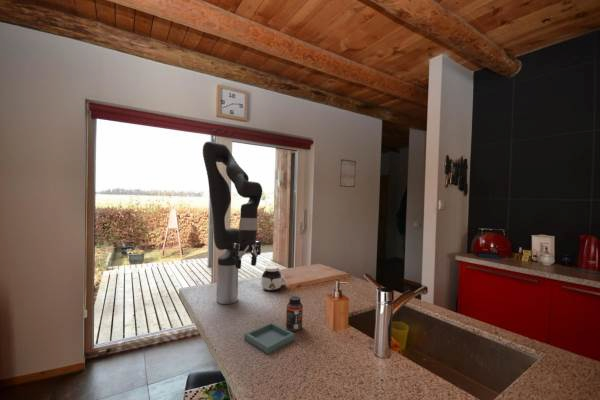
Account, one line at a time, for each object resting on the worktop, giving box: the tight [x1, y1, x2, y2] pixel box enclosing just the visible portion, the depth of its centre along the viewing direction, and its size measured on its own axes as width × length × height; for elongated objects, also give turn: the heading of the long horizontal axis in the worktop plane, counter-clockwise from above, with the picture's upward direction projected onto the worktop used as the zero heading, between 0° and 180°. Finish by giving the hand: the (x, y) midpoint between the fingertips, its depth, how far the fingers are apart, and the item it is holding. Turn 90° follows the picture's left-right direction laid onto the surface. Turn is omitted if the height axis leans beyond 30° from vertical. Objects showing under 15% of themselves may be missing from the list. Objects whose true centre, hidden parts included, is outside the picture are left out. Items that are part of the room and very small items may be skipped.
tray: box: [243, 321, 296, 356], centre depth 92 cm, size 12×12×2 cm
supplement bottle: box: [285, 295, 304, 332], centre depth 101 cm, size 6×6×11 cm
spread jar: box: [261, 265, 287, 292], centre depth 145 cm, size 12×11×12 cm
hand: (246, 266), depth 115 cm, fingers open, 8 cm apart
